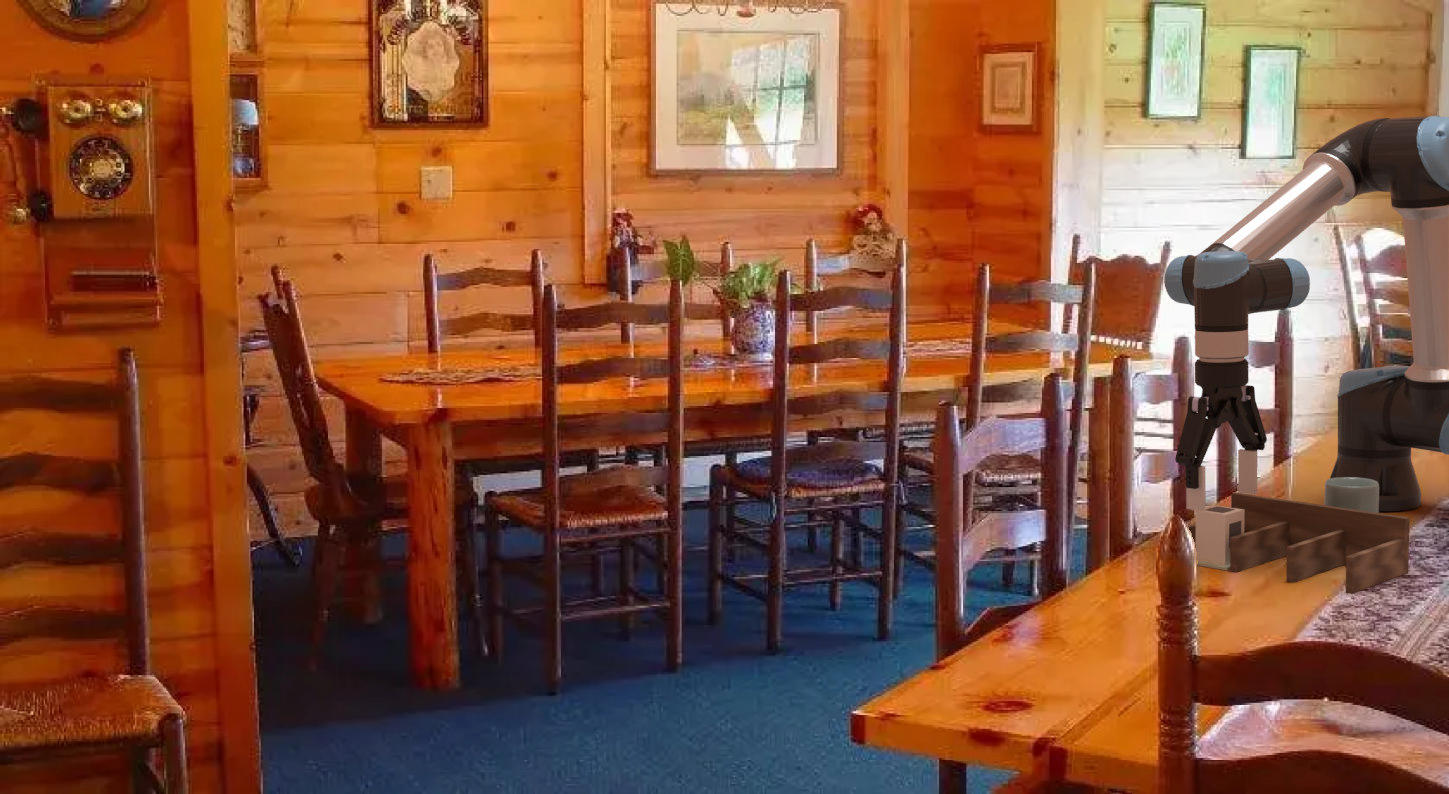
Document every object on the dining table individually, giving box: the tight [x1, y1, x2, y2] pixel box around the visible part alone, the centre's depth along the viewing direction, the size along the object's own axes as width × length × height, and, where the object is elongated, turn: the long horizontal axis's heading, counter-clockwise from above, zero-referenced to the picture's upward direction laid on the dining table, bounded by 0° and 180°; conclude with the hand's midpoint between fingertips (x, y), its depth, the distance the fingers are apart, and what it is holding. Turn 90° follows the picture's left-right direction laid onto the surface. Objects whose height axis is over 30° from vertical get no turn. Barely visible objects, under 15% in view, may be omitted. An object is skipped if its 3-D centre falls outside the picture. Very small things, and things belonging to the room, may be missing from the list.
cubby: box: [1187, 492, 1411, 594], centre depth 254 cm, size 16×28×8 cm, turn 42°
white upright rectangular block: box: [1195, 504, 1245, 565], centre depth 258 cm, size 5×5×8 cm
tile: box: [1197, 561, 1230, 571], centre depth 260 cm, size 10×7×1 cm
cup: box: [1323, 477, 1380, 513], centre depth 266 cm, size 8×8×10 cm
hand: (1222, 501), depth 258 cm, fingers open, 13 cm apart
